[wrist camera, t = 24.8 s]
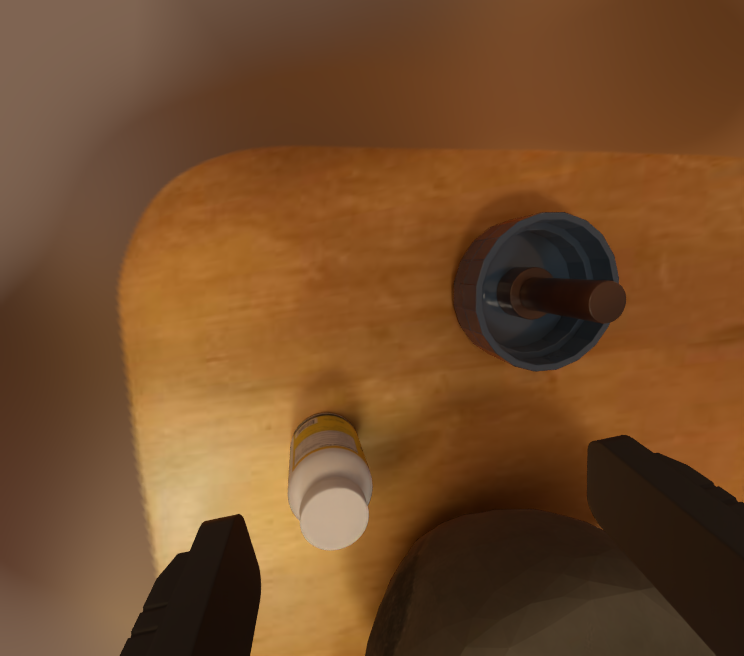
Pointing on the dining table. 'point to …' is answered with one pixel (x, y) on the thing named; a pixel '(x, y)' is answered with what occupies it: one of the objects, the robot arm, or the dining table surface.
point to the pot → (525, 594)
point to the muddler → (559, 296)
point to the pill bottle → (329, 481)
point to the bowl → (531, 249)
